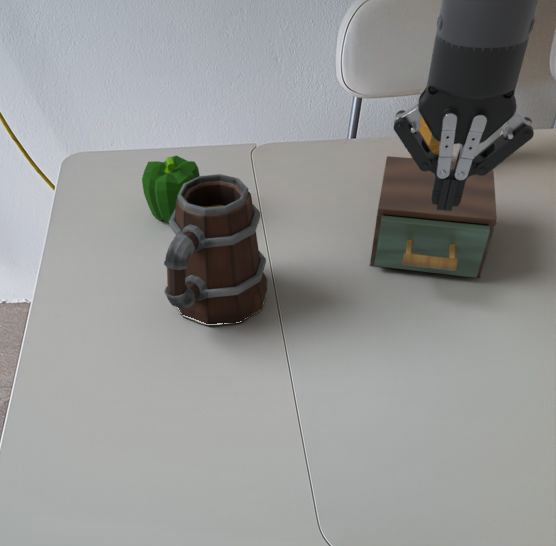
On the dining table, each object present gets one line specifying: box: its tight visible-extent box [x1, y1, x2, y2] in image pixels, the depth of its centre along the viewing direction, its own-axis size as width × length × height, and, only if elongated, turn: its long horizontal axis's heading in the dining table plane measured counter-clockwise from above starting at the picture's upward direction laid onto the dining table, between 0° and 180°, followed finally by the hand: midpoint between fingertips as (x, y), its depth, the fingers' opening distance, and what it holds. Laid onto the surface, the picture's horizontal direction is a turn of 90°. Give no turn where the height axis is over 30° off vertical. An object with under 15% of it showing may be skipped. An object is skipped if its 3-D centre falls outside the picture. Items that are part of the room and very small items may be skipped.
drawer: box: [373, 215, 490, 279], centre depth 82 cm, size 17×12×7 cm
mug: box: [163, 173, 268, 324], centre depth 75 cm, size 16×12×15 cm
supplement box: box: [410, 116, 440, 158], centre depth 99 cm, size 3×3×10 cm
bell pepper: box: [141, 155, 201, 224], centre depth 93 cm, size 8×8×10 cm
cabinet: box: [369, 155, 498, 279], centre depth 85 cm, size 14×14×9 cm
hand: (443, 206), depth 67 cm, fingers closed
